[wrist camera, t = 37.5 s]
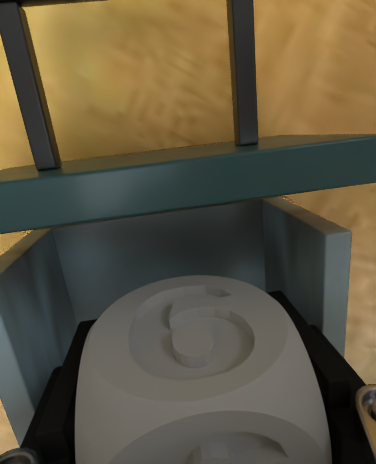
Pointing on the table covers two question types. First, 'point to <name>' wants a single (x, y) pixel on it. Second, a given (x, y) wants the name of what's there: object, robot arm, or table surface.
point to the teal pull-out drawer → (161, 218)
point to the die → (198, 380)
